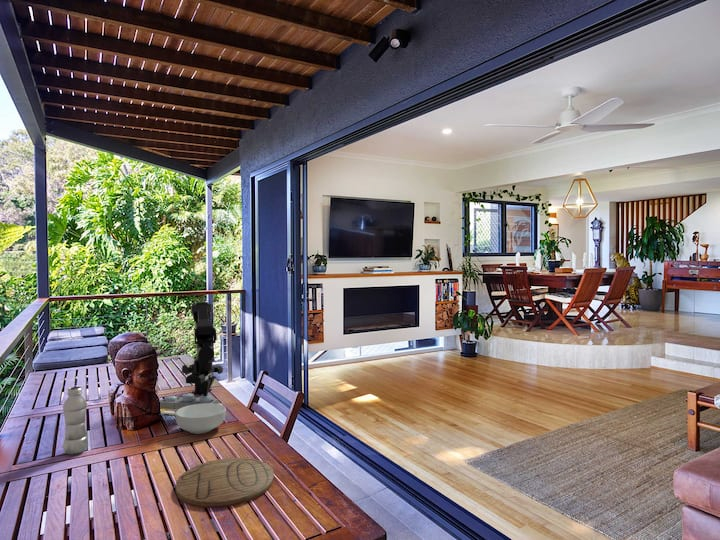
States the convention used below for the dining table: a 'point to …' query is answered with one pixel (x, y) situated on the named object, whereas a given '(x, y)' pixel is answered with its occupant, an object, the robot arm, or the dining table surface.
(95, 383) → the dining table surface
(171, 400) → the button
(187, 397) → the button
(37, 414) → the dining table surface
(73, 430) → the plastic bottle
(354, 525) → the dining table surface
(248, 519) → the dining table surface
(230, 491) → the trivet
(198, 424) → the cereal bowl
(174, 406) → the board
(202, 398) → the button
